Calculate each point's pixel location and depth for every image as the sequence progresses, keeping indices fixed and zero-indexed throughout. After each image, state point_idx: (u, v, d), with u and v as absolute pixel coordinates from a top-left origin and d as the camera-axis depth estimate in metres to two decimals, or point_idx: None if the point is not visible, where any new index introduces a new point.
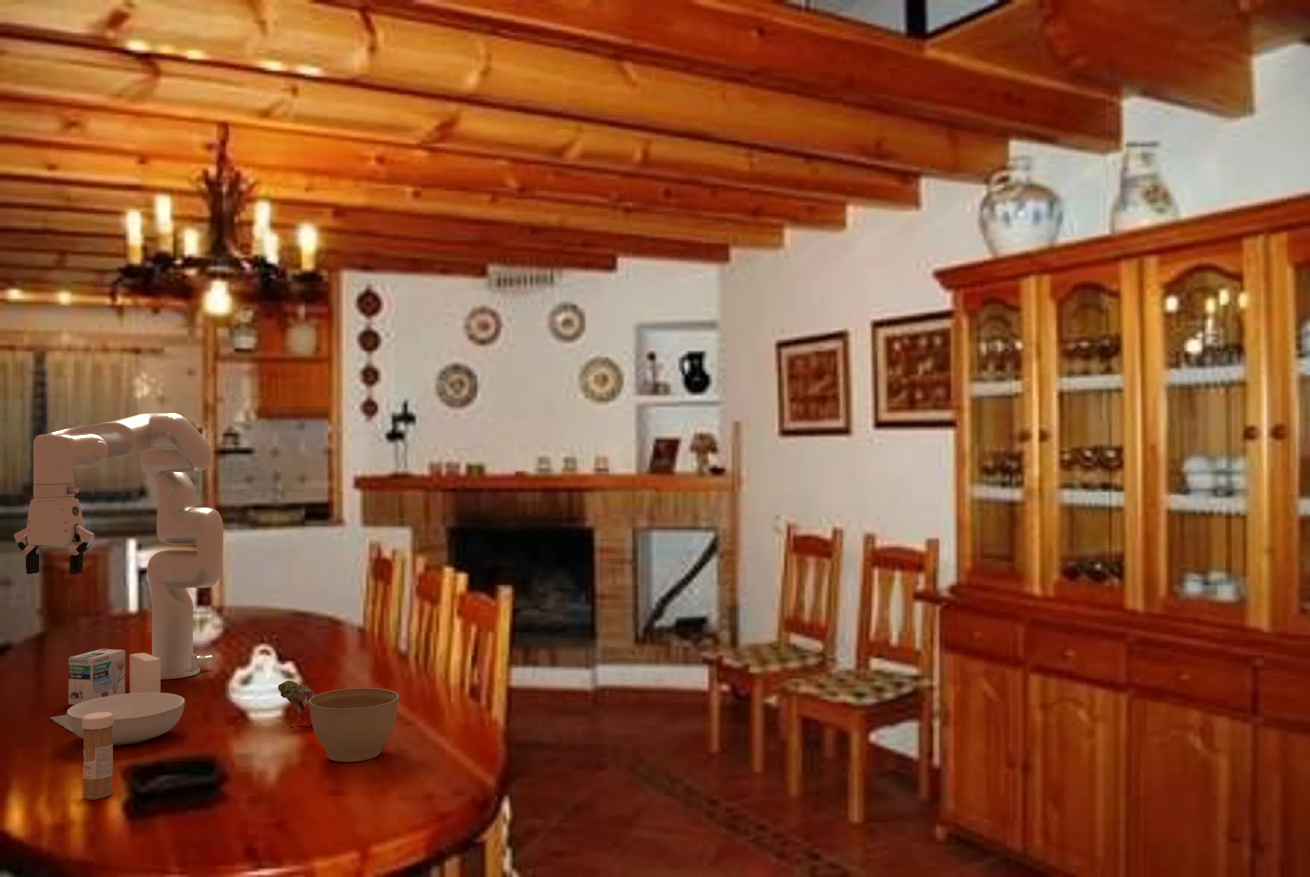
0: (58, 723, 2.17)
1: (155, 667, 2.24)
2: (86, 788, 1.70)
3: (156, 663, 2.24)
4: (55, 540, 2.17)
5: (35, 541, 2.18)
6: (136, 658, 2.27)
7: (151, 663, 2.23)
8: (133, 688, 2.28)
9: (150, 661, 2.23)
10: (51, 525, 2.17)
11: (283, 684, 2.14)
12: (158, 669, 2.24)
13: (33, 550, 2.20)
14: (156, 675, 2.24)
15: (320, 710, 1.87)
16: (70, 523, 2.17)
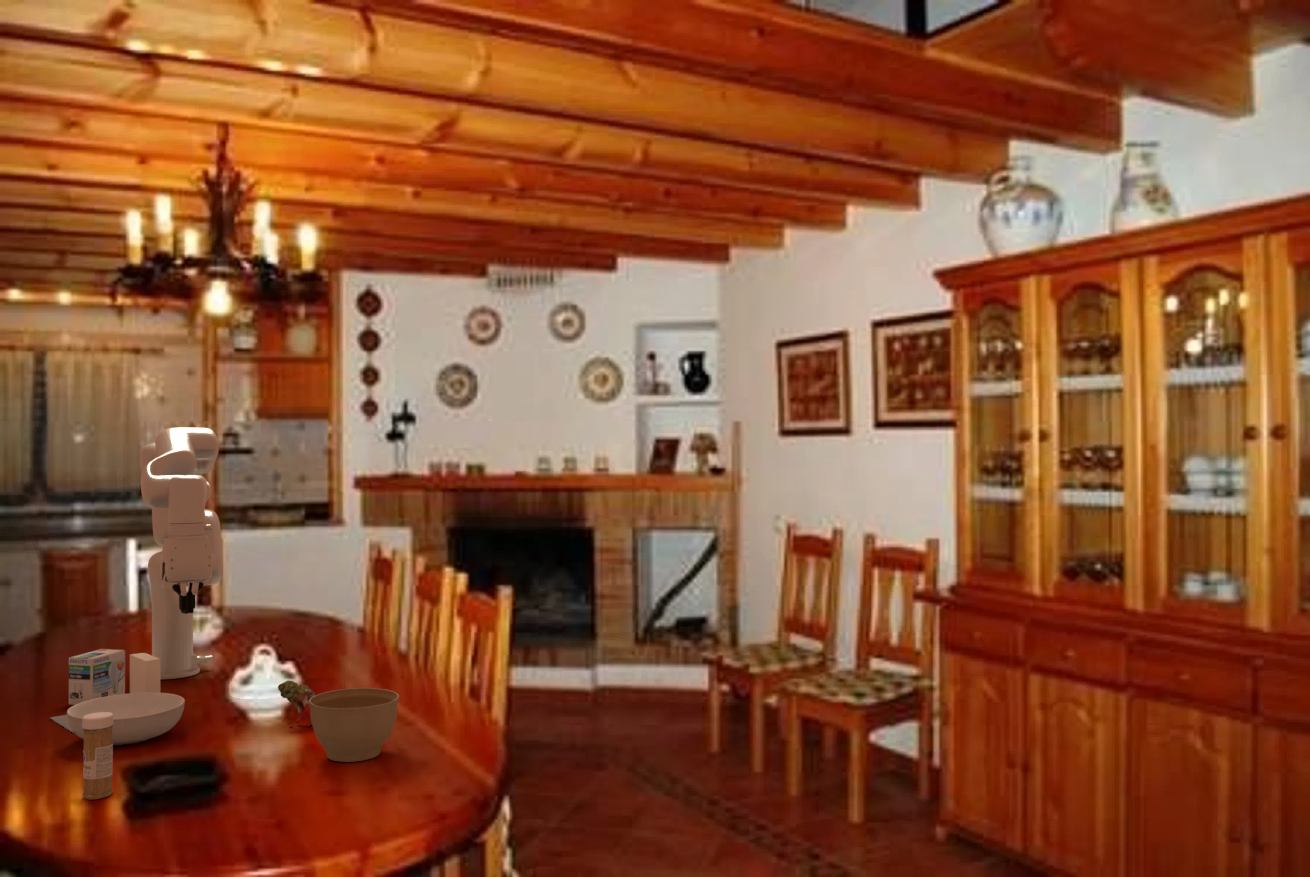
0: (58, 723, 2.17)
1: (155, 667, 2.24)
2: (86, 788, 1.70)
3: (156, 663, 2.24)
4: (199, 575, 2.33)
5: (178, 578, 2.30)
6: (136, 658, 2.27)
7: (151, 663, 2.23)
8: (133, 688, 2.28)
9: (150, 661, 2.23)
10: (196, 561, 2.32)
11: (283, 684, 2.14)
12: (158, 669, 2.24)
13: None
14: (156, 675, 2.24)
15: (320, 710, 1.87)
16: (211, 558, 2.35)
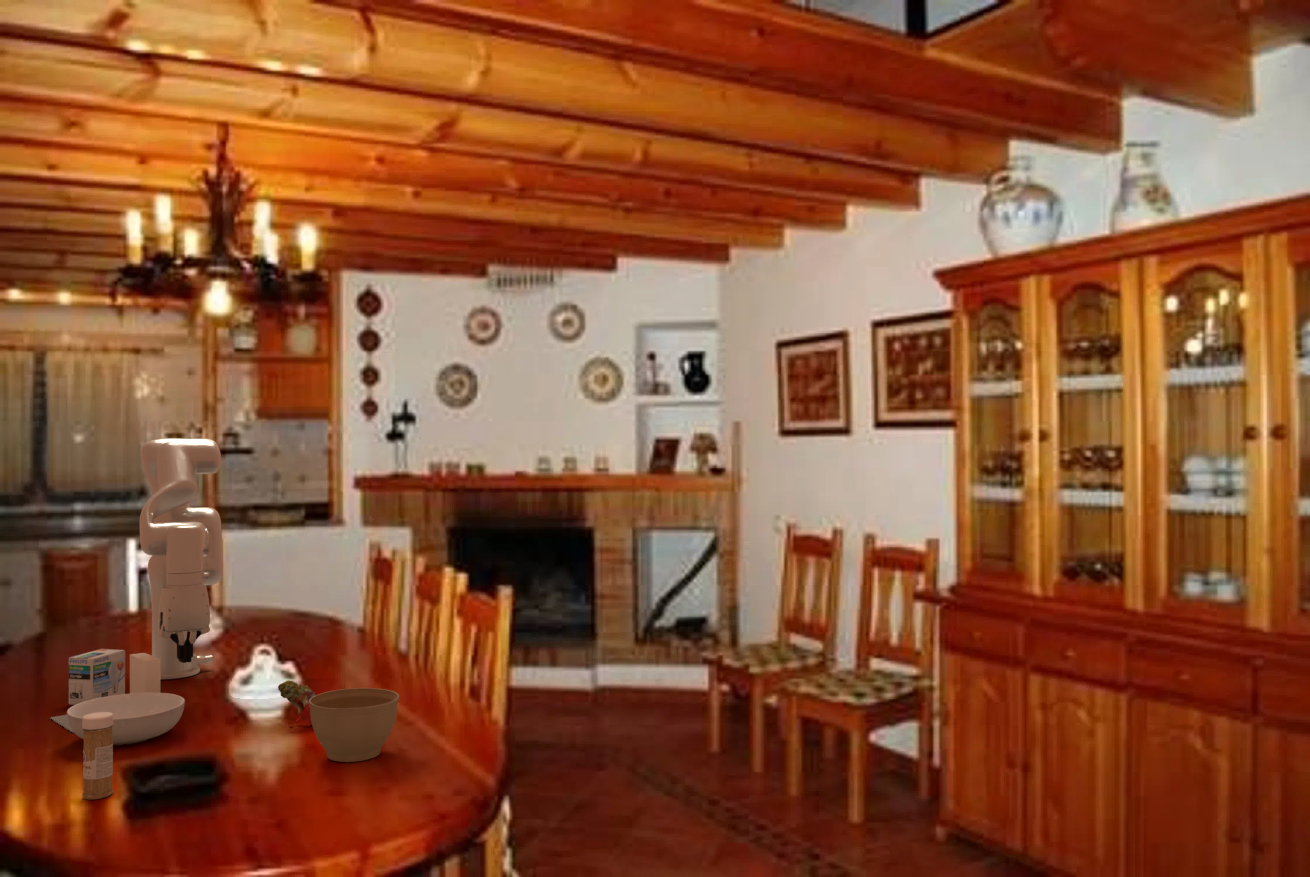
0: (58, 723, 2.17)
1: (155, 667, 2.24)
2: (86, 788, 1.70)
3: (156, 663, 2.24)
4: (197, 624, 2.33)
5: (175, 628, 2.30)
6: (136, 658, 2.27)
7: (151, 663, 2.23)
8: (133, 688, 2.28)
9: (150, 661, 2.23)
10: (194, 610, 2.32)
11: (283, 684, 2.14)
12: (158, 669, 2.24)
13: None
14: (156, 675, 2.24)
15: (320, 710, 1.87)
16: (209, 606, 2.35)
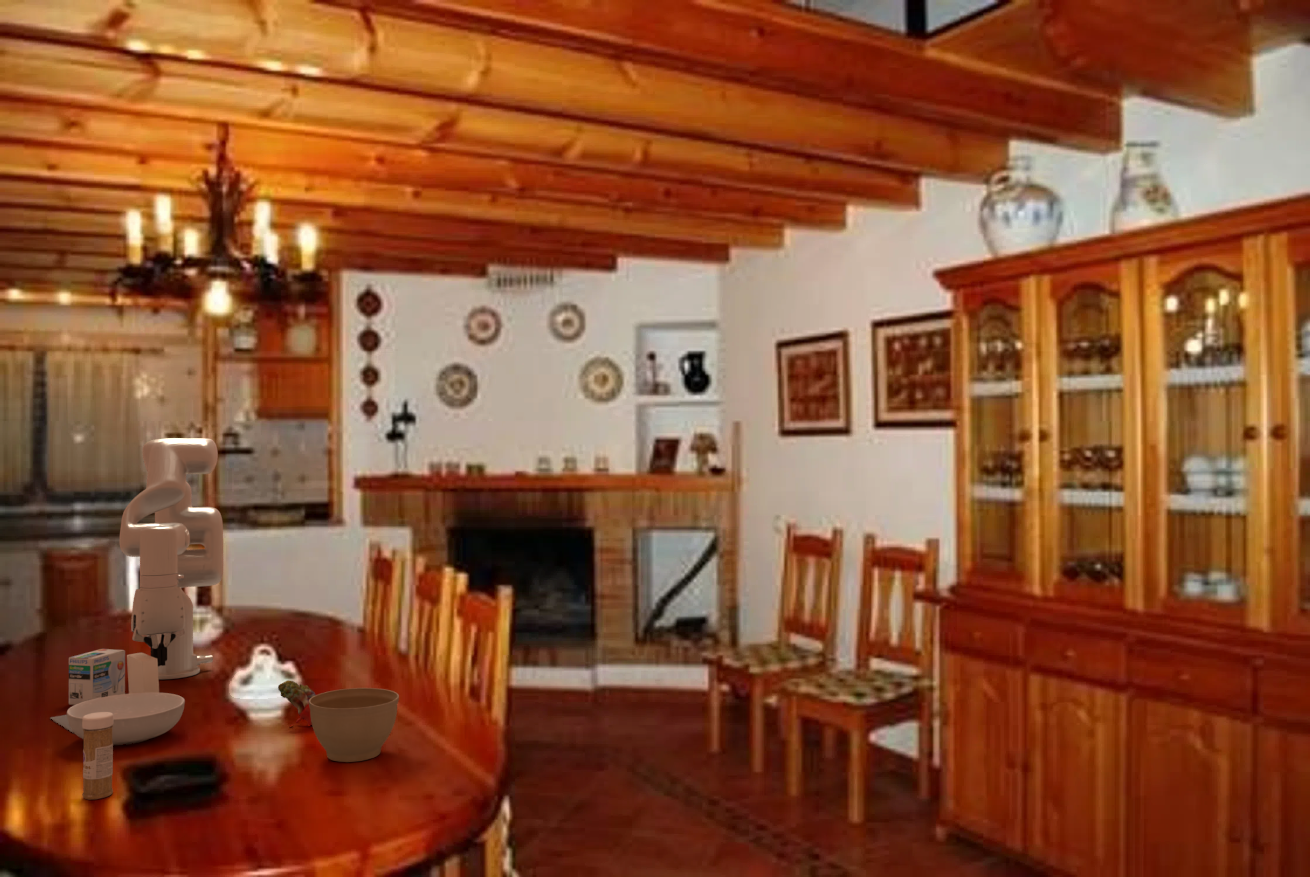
0: (58, 723, 2.17)
1: (152, 667, 2.23)
2: (86, 788, 1.70)
3: (153, 663, 2.24)
4: (171, 626, 2.29)
5: (149, 631, 2.26)
6: (133, 658, 2.26)
7: (148, 663, 2.23)
8: (132, 688, 2.28)
9: (147, 661, 2.23)
10: (168, 613, 2.28)
11: (283, 684, 2.14)
12: (155, 669, 2.24)
13: None
14: (154, 675, 2.24)
15: (320, 710, 1.87)
16: (184, 609, 2.31)
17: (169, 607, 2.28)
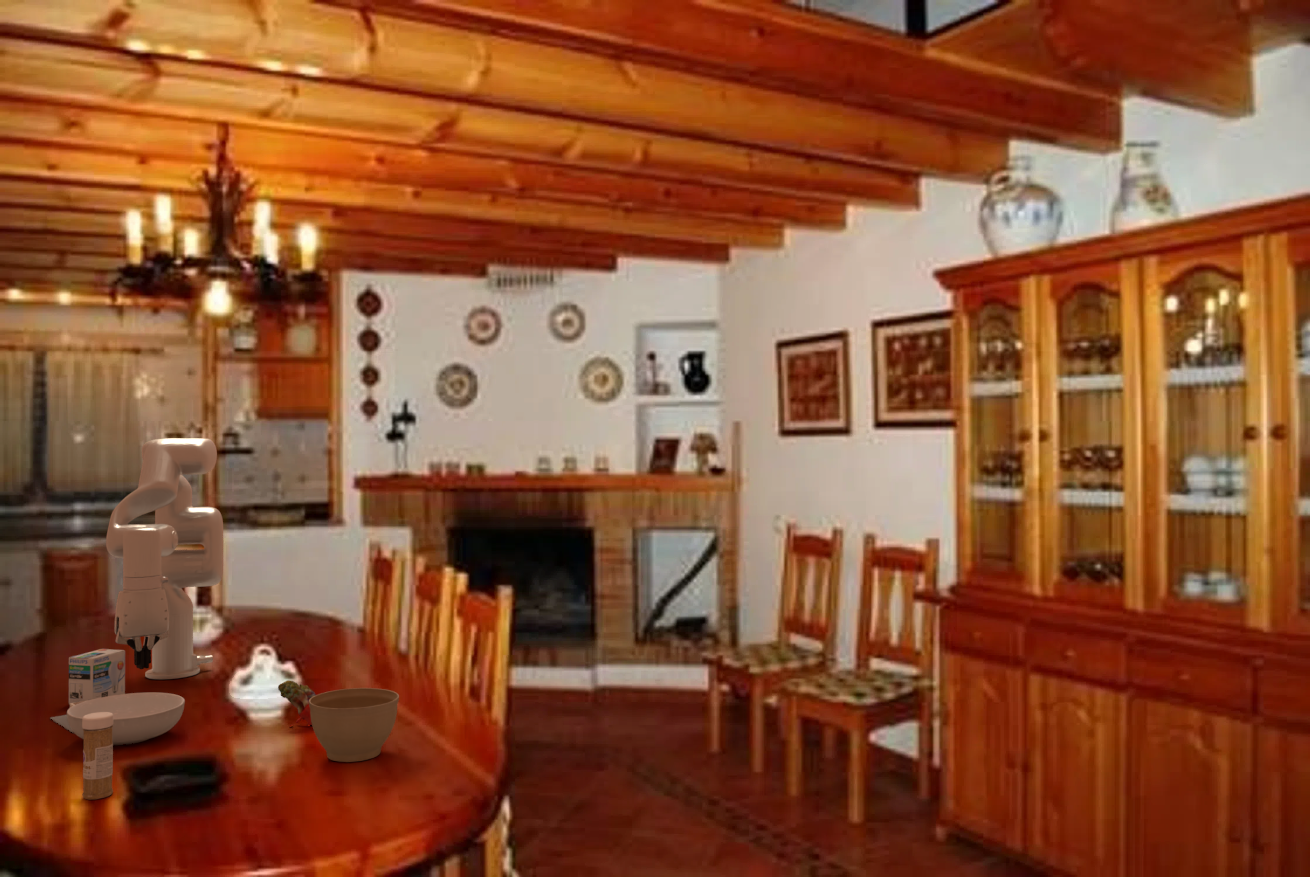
0: (58, 723, 2.17)
1: None
2: (86, 788, 1.70)
3: None
4: (155, 629, 2.27)
5: (132, 633, 2.23)
6: None
7: None
8: None
9: None
10: (151, 615, 2.26)
11: (283, 684, 2.14)
12: None
13: None
14: None
15: (320, 710, 1.87)
16: (168, 611, 2.29)
17: (153, 609, 2.26)
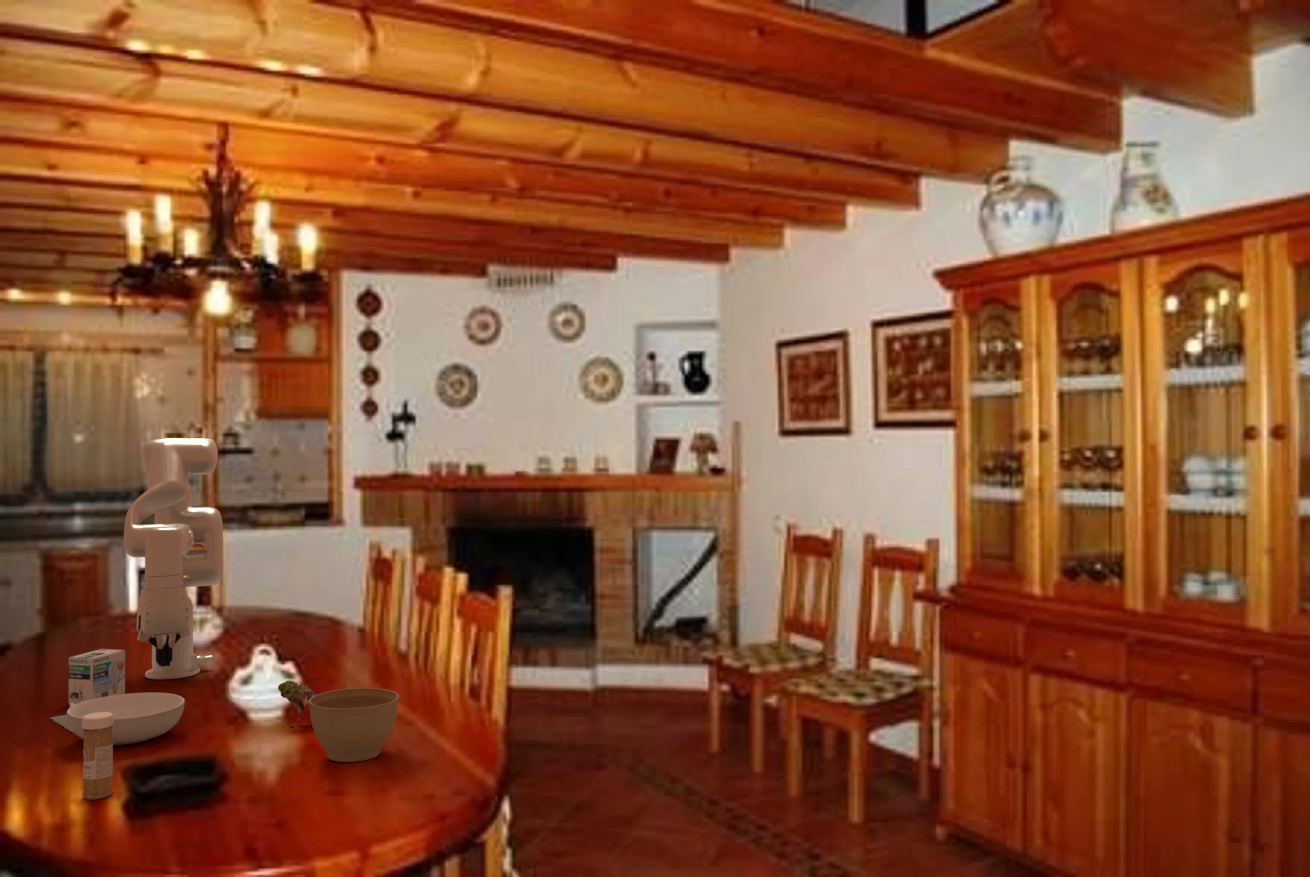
0: (58, 723, 2.17)
1: None
2: (86, 788, 1.70)
3: None
4: (176, 627, 2.30)
5: (154, 631, 2.27)
6: None
7: None
8: None
9: None
10: (173, 613, 2.29)
11: (283, 684, 2.14)
12: None
13: None
14: None
15: (320, 710, 1.87)
16: (189, 609, 2.32)
17: (174, 608, 2.29)
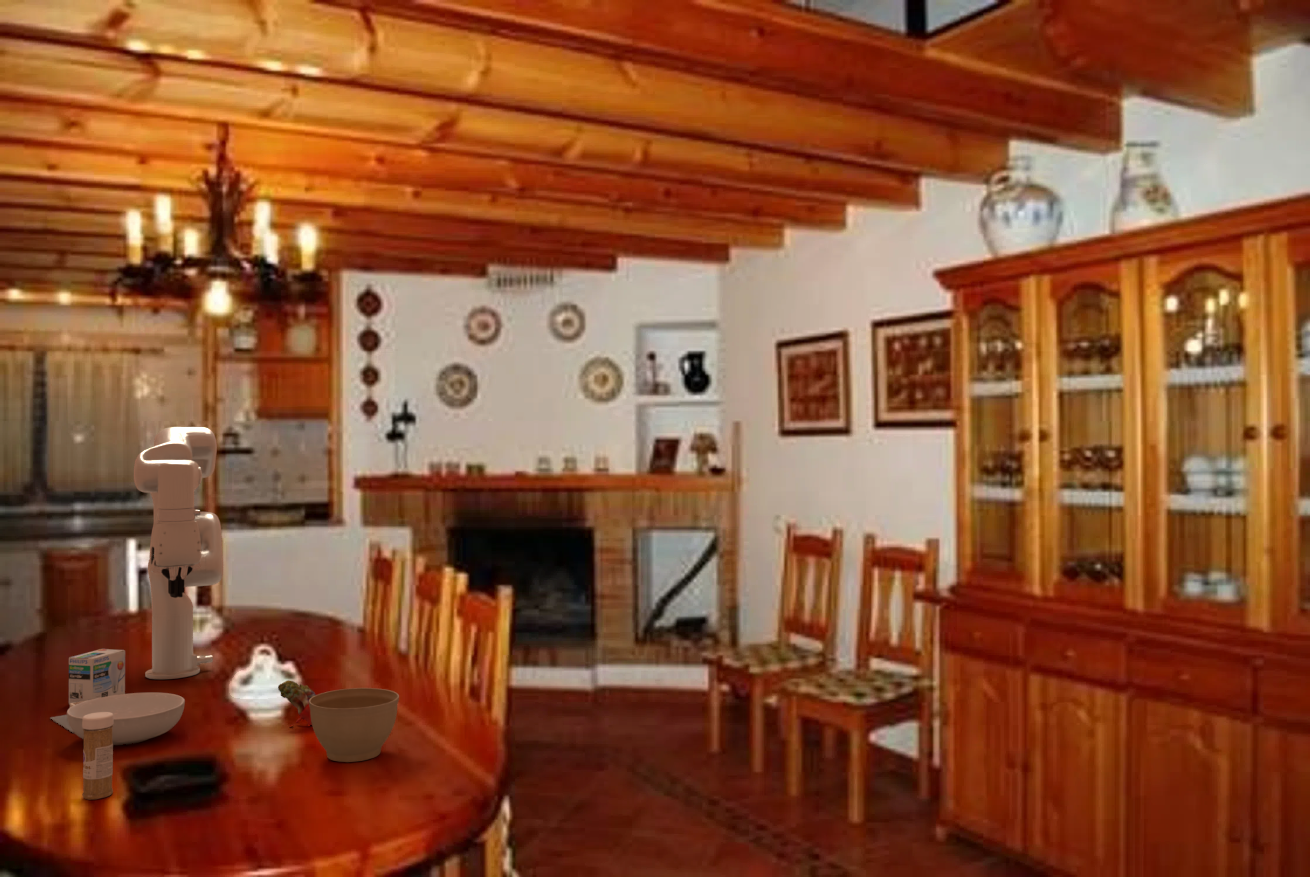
0: (58, 723, 2.17)
1: None
2: (86, 788, 1.70)
3: None
4: (188, 559, 2.36)
5: (167, 563, 2.32)
6: None
7: None
8: None
9: None
10: (185, 546, 2.35)
11: (283, 684, 2.14)
12: None
13: None
14: None
15: (320, 710, 1.87)
16: (200, 543, 2.38)
17: (186, 540, 2.35)
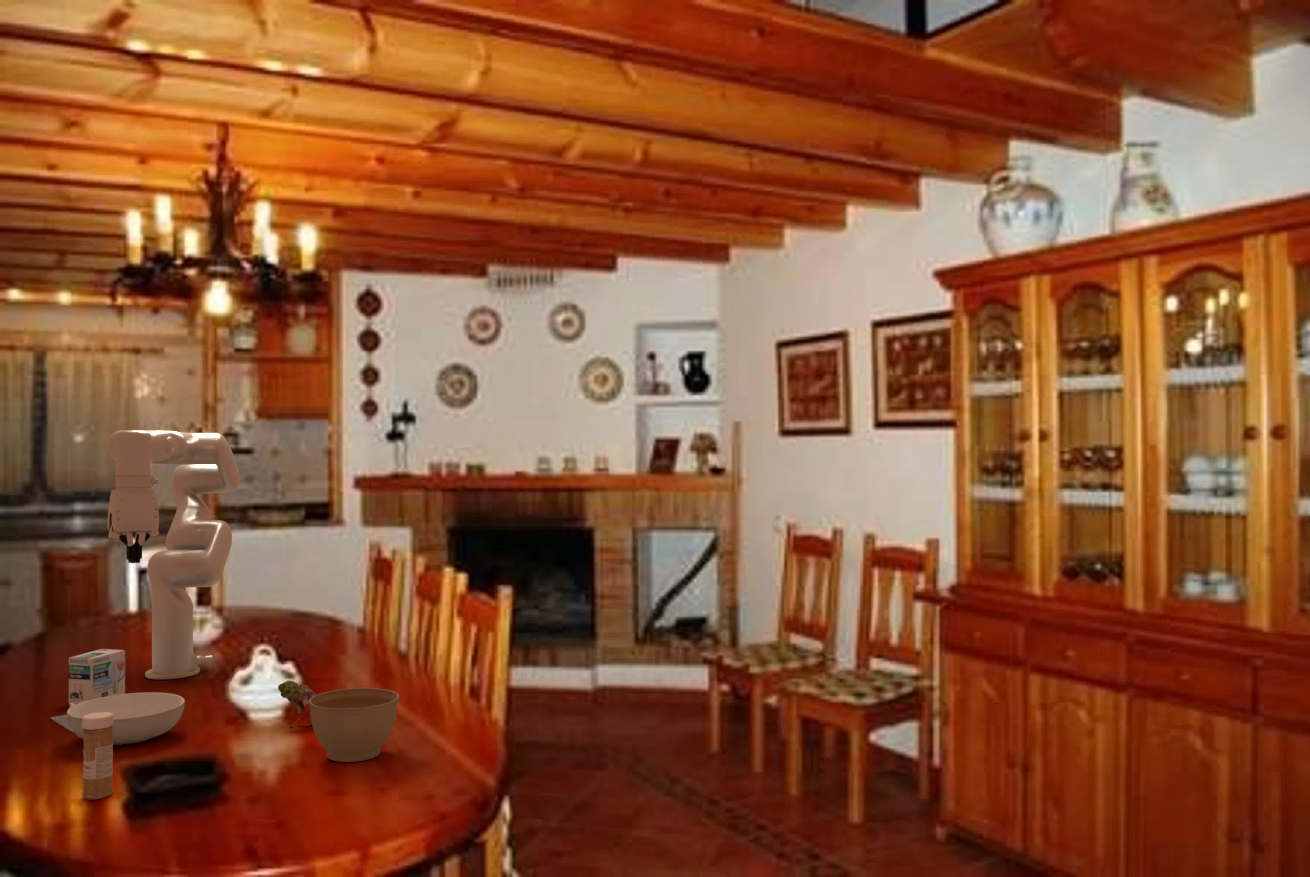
0: (58, 723, 2.17)
1: None
2: (86, 788, 1.70)
3: None
4: (145, 526, 2.41)
5: (124, 528, 2.37)
6: None
7: None
8: None
9: None
10: (142, 513, 2.40)
11: (283, 684, 2.14)
12: None
13: None
14: None
15: (320, 710, 1.87)
16: None
17: (143, 507, 2.40)
